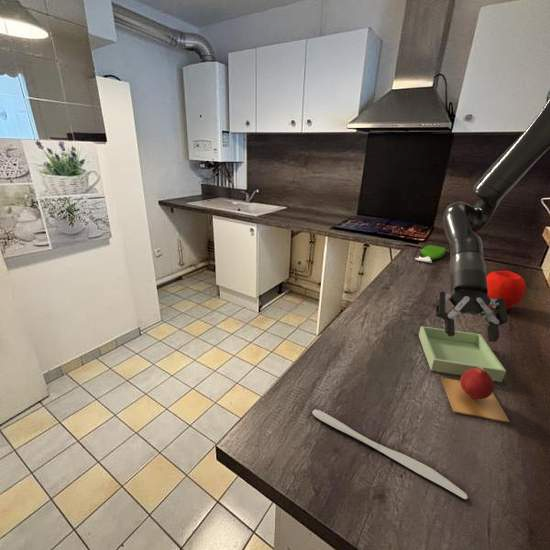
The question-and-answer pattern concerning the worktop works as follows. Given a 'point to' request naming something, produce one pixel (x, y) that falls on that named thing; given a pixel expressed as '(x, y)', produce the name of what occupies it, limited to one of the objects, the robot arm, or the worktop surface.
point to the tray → (459, 353)
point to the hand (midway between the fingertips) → (471, 338)
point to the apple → (506, 287)
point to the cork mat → (472, 402)
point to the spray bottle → (431, 253)
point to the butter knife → (393, 455)
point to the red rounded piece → (477, 383)
